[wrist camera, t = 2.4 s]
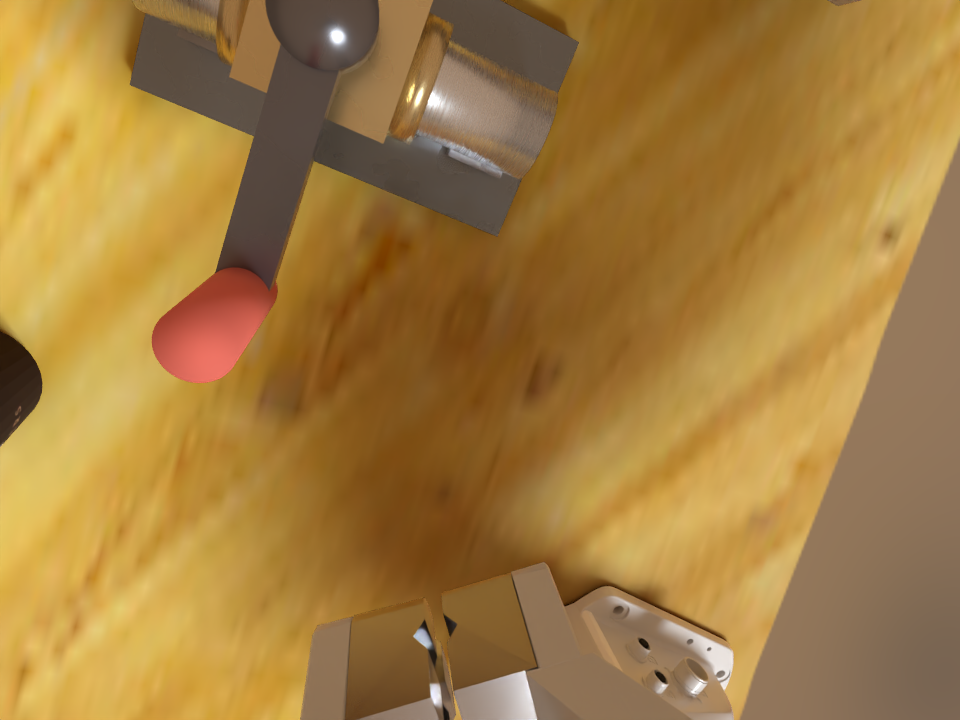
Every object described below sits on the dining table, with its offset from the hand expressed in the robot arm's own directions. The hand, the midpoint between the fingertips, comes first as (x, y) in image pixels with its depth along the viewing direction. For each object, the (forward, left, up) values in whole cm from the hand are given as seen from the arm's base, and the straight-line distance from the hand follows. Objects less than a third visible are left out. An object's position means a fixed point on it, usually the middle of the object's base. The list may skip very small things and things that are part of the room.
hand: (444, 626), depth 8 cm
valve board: (+6, -9, -29) cm, 31 cm away
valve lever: (+6, -4, -18) cm, 19 cm away
